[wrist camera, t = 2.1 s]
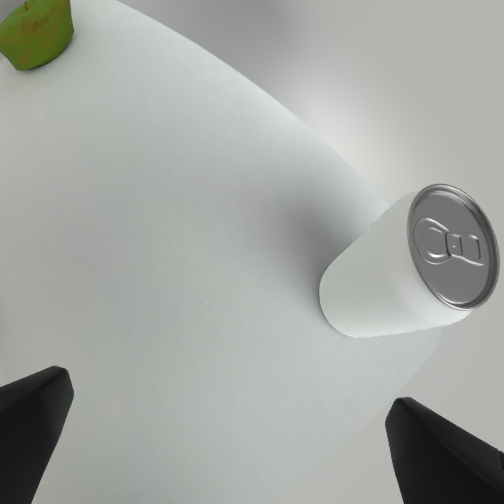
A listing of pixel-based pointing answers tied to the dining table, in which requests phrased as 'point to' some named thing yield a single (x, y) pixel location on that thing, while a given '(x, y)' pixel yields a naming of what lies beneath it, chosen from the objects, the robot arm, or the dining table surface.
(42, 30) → the apple
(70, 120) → the dining table surface
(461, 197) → the can
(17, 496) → the robot arm
